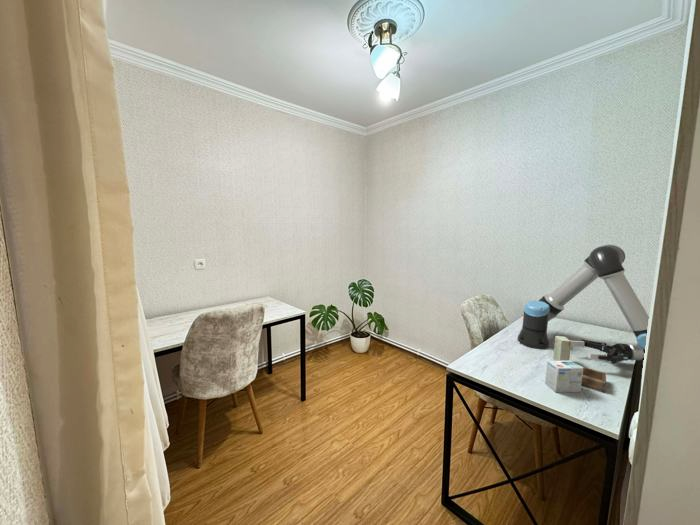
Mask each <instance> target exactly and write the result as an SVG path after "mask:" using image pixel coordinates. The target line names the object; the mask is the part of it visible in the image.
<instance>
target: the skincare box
mask: <svg viewBox="0 0 700 525" xmlns="http://www.w3.org/2000/svg"><path fill="white" fill-rule="evenodd" d="M571 341H572V340H570V339H568V337H567V336H561V335H555V337H554V347H553V348H554V349H553V361H563V360H570V359H571V358H570V357H571V348H572V346H571Z"/></svg>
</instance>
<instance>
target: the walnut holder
mask: <svg viewBox="0 0 700 525" xmlns="http://www.w3.org/2000/svg"><path fill="white" fill-rule="evenodd" d="M580 366H581V367H583V375H582V383H581V387H584V388H586V389H590V390H594V391H597V392H599V393H600V392H601V393H603V394H605V393H606V387H607V373H606V372H603V371H600V370H596V369H592V368H589V367H585V366H582V365H580Z"/></svg>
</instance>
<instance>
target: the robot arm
mask: <svg viewBox="0 0 700 525" xmlns="http://www.w3.org/2000/svg"><path fill="white" fill-rule="evenodd" d="M625 260H626V254H625V251H624V249H622V248H621V247H619V246H618V245H614V244H604V245H601V246H598V247H595V248H594V249H593V250H592V251H591V252H590V253H589V256H587V257H586V258H585V259H584V260H583V261H584V262H583V265H582V266H581V267H580V268H578V269H577V270H576V271H575V273H573V274H572V275H571V276H570V277H568V278H567V279H565V280H564V282H562V283H561V284H560V285H559V286H558V287H557V288H556V289H555V290H553V291H552V292H551V293H550V294H544V295H543V296H542V297H541V298H540V299H539V300H529V301H527V302H525V303H524V306H523V318H522V319H523V320H522V328H520V332H519V334H518V335H517V342H518V341H519V342H520V343H519V342H518V343H519V344H521V345H522V344H523V345H522V346H525V347H528V348H530V349H531V348H532V349H537V350H538V349H539V350H546V349H549V348H550V339H549V335H548V325H549V324H548V323H549V322H550V321H551V320H552V319H555V318H556V317H557V316H558V315H559V314H560V313H562V312H563V311H564V310H565V307H564V306H565V305H566V304H568V303H569V302H570V301H571V300H572V299H574V298H575V297H576V296H578V294H579V293H581V292H583V291H584V290H585V289H586V288H587V287H588V286H589V285H590V284H592V283H594V282H595V281H597V279H598V278H599V279H601V280H602V281H603V282H604V283H605V285H606V286H607V289H608V290H609V291H610V293H611V295H612V297H613V299H614V300H615V303H616V304H617V306H618V307H619V309H620V311H621V313H622V315H623V316H624V318H625V320H626V321H627V323H628V325H629V326H630V329H631V330H632V333H633V334H634V336H635V338H636V339H635V340H636V343H618V342H617V343H614V344H613V345H611V344H608V345H607V342H600V341H594V340H589V339H583V338H581V340H570V341H571V347H575V348H576V347H578V348H580V347H581V348H584V347H587V348H589V349H590V348H591V349H594V350H599V351H600V352H602V353H596V352H595V353H594V352H593V353H592V352H590V353H589V355H588V360H595V361H596V360H597V361H606V362H610V363H611V364H616V363H620V362H622V361H632V362H634V361H642V362H643V360H644V353H645V345H646V335H647V326H648V319H649V318H650V316H649V314H648V313H647V311H646V309H645V308H644V306H643V304H642V303H641V300H640V299H639V298H638V297H639V296H638V295H637V294H636V292H635V290H634V289H633V287H632V286H631V284H630V282H629V280H628V279H627V277H626V275H625V274H624V273H625V271H626V269H625V267H624V266H623V263H624V262H625Z"/></svg>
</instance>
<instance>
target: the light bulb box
mask: <svg viewBox="0 0 700 525" xmlns="http://www.w3.org/2000/svg"><path fill="white" fill-rule="evenodd" d="M581 366H582V365H580V364H578V363H577V362H575V361H573V360H570V359H569V360H563V361H555V360H547V362H546V371H545V380H544V385H546V386H547V387H549V389H551V390H552V391H553V392H555V393H580V392H581V389H582V388H581V387H582V386H581V383H582V375H583V367H584V366H582V367H581Z"/></svg>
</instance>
